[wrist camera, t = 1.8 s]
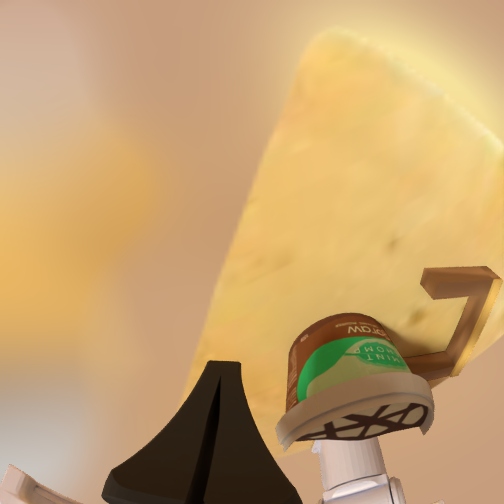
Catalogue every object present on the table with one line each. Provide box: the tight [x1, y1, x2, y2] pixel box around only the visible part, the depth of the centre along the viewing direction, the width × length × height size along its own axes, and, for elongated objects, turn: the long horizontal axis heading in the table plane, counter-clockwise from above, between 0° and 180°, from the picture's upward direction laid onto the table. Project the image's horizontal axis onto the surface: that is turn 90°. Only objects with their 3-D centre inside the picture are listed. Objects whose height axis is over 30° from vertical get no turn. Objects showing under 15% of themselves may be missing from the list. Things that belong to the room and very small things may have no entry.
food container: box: [275, 313, 434, 452], centre depth 19 cm, size 12×6×10 cm, turn 85°
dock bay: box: [403, 266, 503, 381], centre depth 22 cm, size 12×8×3 cm
